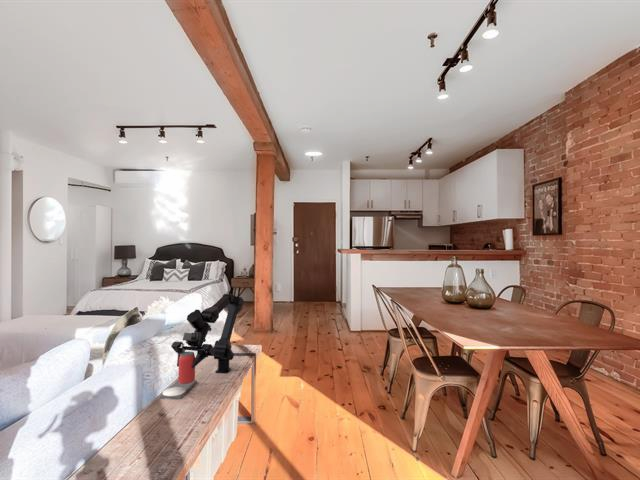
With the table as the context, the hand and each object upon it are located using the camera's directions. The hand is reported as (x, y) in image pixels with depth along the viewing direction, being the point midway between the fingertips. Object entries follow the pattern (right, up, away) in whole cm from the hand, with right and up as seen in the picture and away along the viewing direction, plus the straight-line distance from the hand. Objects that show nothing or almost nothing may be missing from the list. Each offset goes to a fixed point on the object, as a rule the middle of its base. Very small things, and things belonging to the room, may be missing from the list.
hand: (184, 366), depth 144 cm
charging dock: (-5, -13, +6) cm, 15 cm away
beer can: (0, -7, +1) cm, 7 cm away
